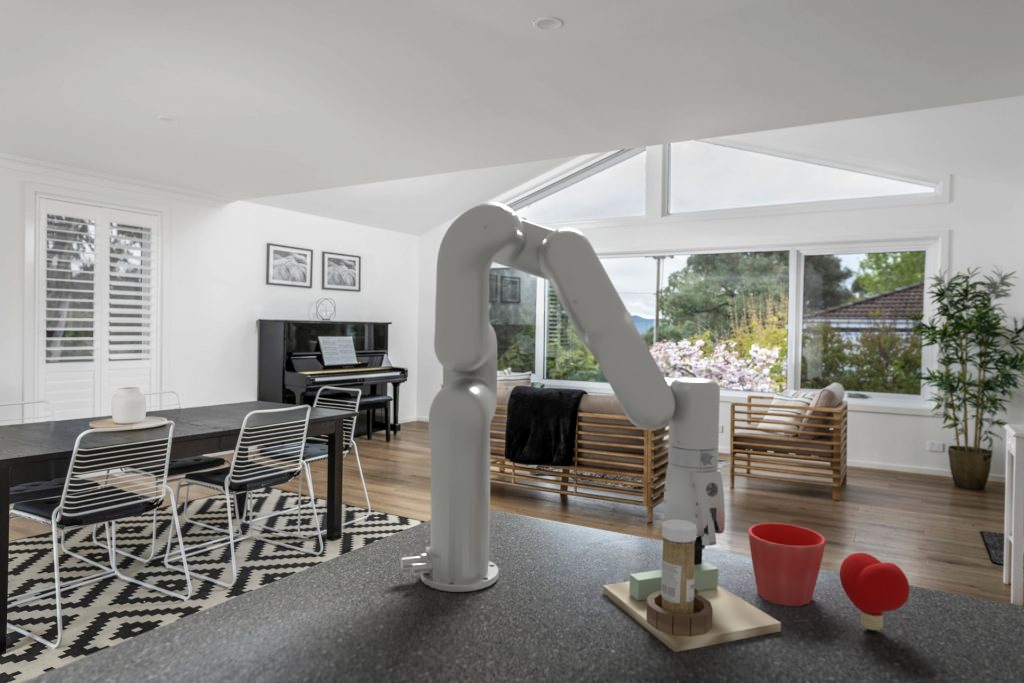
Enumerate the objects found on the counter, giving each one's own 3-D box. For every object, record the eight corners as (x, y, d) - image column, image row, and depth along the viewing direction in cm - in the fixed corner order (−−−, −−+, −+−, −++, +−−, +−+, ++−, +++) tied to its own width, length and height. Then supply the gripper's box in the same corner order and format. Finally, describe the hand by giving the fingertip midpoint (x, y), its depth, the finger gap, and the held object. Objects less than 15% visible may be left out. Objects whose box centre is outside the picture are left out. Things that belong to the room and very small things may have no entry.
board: (673, 652, 85) (674, 624, 85) (601, 593, 103) (601, 569, 103) (780, 631, 91) (781, 604, 91) (695, 578, 109) (696, 556, 109)
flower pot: (832, 614, 96) (834, 548, 96) (752, 607, 99) (754, 542, 98) (814, 585, 107) (816, 525, 106) (742, 579, 109) (743, 520, 109)
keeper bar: (638, 600, 97) (638, 574, 97) (629, 594, 99) (629, 568, 99) (717, 587, 102) (718, 563, 102) (707, 581, 104) (708, 557, 104)
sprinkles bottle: (700, 626, 90) (703, 527, 89) (670, 630, 88) (672, 529, 88) (683, 611, 94) (685, 517, 94) (653, 615, 93) (655, 519, 92)
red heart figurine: (824, 620, 95) (827, 550, 94) (860, 612, 97) (862, 544, 97) (884, 651, 86) (887, 575, 86) (921, 641, 89) (924, 567, 88)
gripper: (745, 465, 99) (741, 588, 100) (684, 446, 113) (681, 553, 114) (703, 469, 96) (699, 595, 97) (646, 449, 110) (643, 559, 111)
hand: (690, 572), depth 105 cm, fingers closed
